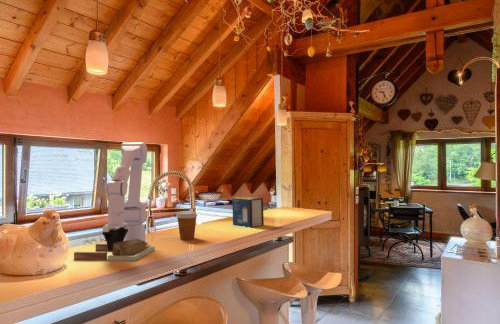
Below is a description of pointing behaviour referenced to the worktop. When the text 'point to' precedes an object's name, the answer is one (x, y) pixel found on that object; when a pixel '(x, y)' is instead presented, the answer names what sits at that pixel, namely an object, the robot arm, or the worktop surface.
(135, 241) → the stone block
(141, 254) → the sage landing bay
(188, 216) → the disposable coffee cup
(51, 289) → the worktop surface
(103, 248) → the walnut chute
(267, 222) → the worktop surface
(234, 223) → the protein box
